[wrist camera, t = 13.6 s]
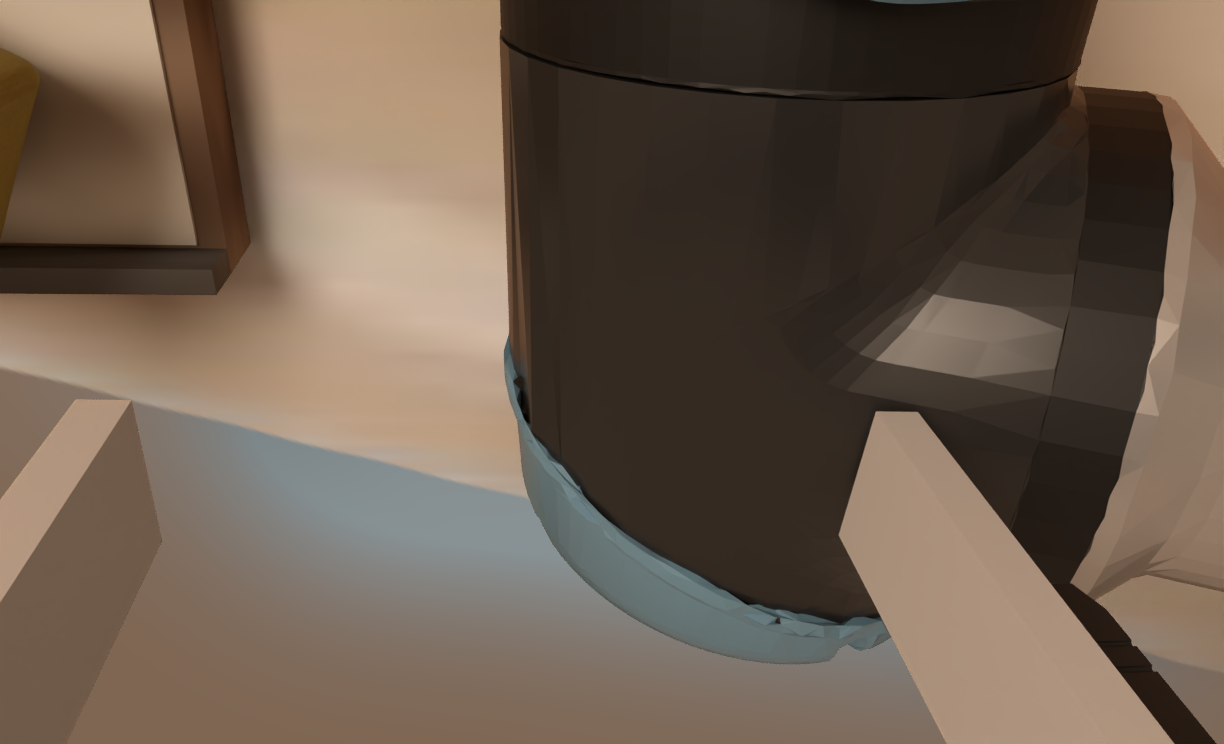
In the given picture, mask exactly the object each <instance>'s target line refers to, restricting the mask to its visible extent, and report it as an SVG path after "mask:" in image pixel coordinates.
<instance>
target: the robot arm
mask: <svg viewBox="0 0 1224 744" xmlns="http://www.w3.org/2000/svg"><path fill="white" fill-rule="evenodd" d="M1097 2H1098V0H500V12H501V28H502V29H501V30H500V62H501V92H502V122H503V152H504V182H505V213H506V243H507V273H508V303H509V336H508V339H507V343H506V346H505V349H504V370H505V381H506V385H507V390H508V395H509V399H510V402H511V405H512V408H513V411H514V414H515V416H516V419H517V421H518V432H519V442H520V452H521V463H522V472H523V477H524V482H525V486H526V490H527V493H528V496H529V498H530V501H531V504H532V506H533V508H534V511H535V513H536V514H537V516H538V517H539V518H540V520H541V523H542V525H543V527H544V529H545V530H546V532H547V534H548V536H549V538H550V540H551V542H552V544H553V545H554V547H555V548H556V549H557V551H558V552H559V553H560V555H561V556H562V557H563V558H564V560H565V561H566V562H567V563H568V564H569V565H570V567H571V568H572V569H573V570H574V571H575V572H576V573H577V574H578V575H579V576H580V577H581V578H582V579H583V580H584V581H585V582H586V583H587V584H588V585H589V586H591V587H592V588H593V589H594V590H595V591H596V592H598V593H599V594H600V595H601V596H603V597H604V598H605V599H606V600H608V601H609V602H610V603H612V604H613V605H615V606H616V607H617V608H619V609H620V610H622V611H623V612H625V613H626V614H628V615H629V616H631V617H633V618H634V619H636V620H638V621H639V622H641V623H643V624H645V625H647V626H649V627H650V628H653V629H654V630H656V631H658V632H660V633H663V634H665V635H667V636H669V637H671V638H673V639H676V640H678V641H681V642H683V643H686V644H688V645H691V646H694V647H697V648H700V649H703V650H706V651H709V652H712V653H717V654H720V655H724V656H728V657H733V658H737V659H742V660H748V661H756V662H763V663H774V664H809V663H819V662H825V661H830V660H831V659H832V658H833V657H834V656H835V654H836V653H837V651H838V650H839V648H841V647H843V646H845V645H847V644H848V645H850V646H851V647H853V648H855V649H857V650H860V651H861V650H864V649H870V648H873V647H874V646H877V645H879V644H880V643H882V642H884V641H886V640H887V639H889V638H890V637H892V639H893V641H894V643H895V645H896V647H897V649H898V651H899V653H900V655H901V656H902V658H903V660H904V662H905V664H906V666H907V668H908V670H909V672H910V674H911V676H912V678H913V680H914V681H915V684H916V685H917V687H918V689H919V691H920V693H921V695H922V697H923V699H924V701H925V703H926V705H927V707H928V708H929V710H930V712H931V714H932V716H933V718H934V720H935V722H936V724H937V726H938V728H939V730H940V732H941V734H942V736H943V737H944V740H945V741H946V743H947V744H1216V743H1215V741H1214V740H1213V739H1212V738H1211V737H1210V735H1209V734H1208V733H1207V732H1206V730H1205V729H1204V728H1203V727H1202V726H1201V724H1200V723H1199V722H1198V721H1197V719H1196V718H1195V717H1194V716H1193V715H1192V713H1191V712H1190V711H1189V710H1188V708H1187V707H1186V706H1185V705H1184V704H1183V702H1182V701H1181V700H1180V699H1179V698H1178V696H1177V695H1176V694H1175V693H1174V691H1173V690H1172V689H1171V688H1170V686H1169V685H1168V684H1167V683H1166V682H1165V680H1164V679H1163V678H1162V677H1161V676H1160V674H1159V673H1158V672H1153V670H1152V665H1151V663H1150V662H1149V661H1148V660H1147V658H1146V657H1145V656H1144V655H1143V654H1142V652H1141V651H1140V650H1139V649H1138V647H1137V646H1132V644H1131V639H1130V638H1129V636H1128V635H1127V634H1126V633H1125V632H1124V630H1123V629H1122V628H1121V627H1120V626H1119V624H1118V623H1117V622H1116V621H1115V619H1114V618H1113V617H1112V616H1111V615H1110V613H1109V612H1108V611H1107V610H1106V609H1105V608H1104V607H1102V606H1101V605H1100V604H1098V603H1097V602H1096V601H1094V600H1095V599H1097V598H1099V597H1101V596H1102V595H1104V594H1106V593H1107V592H1109V591H1111V590H1113V589H1114V588H1116V587H1118V586H1119V585H1121V584H1123V583H1125V582H1126V581H1128V580H1130V579H1131V578H1135V577H1139V576H1143V575H1151V576H1156V577H1160V578H1164V579H1169V580H1173V581H1178V582H1182V583H1187V584H1191V585H1196V586H1200V587H1204V588H1209V589H1213V590H1218V591H1222V592H1224V168H1223V166H1222V165H1221V164H1220V162H1219V161H1218V159H1217V158H1216V157H1215V155H1214V154H1213V152H1212V151H1211V150H1210V148H1209V147H1208V145H1207V144H1206V142H1205V141H1204V140H1203V138H1202V137H1201V135H1200V134H1199V133H1198V131H1197V130H1196V128H1195V127H1194V126H1193V124H1192V123H1191V121H1190V120H1189V119H1188V117H1187V116H1186V114H1185V113H1184V111H1183V110H1182V109H1181V107H1180V106H1179V104H1178V103H1177V102H1176V101H1175V100H1174V99H1172V98H1171V97H1168V96H1163V95H1158V94H1153V93H1149V92H1147V91H1142V92H1139V91H1128V90H1116V89H1105V88H1094V87H1082V86H1076V85H1075V80H1076V75H1077V70H1078V67H1079V66H1080V64H1081V57H1082V54H1083V50H1084V47H1085V43H1086V40H1087V36H1088V33H1089V29H1090V26H1091V23H1092V19H1093V16H1094V12H1095V9H1096V5H1097ZM161 542H162V538H161V534H160V529H159V524H158V520H157V515H156V510H155V506H154V501H153V497H152V492H151V487H150V483H149V479H148V474H147V469H146V465H145V460H144V455H143V451H142V446H141V442H140V437H139V432H138V428H137V423H136V419H135V414H134V409H133V405H132V400H75V401H74V402H73V404H72V405H71V407H70V408H69V409H68V410H67V412H66V413H65V414H64V416H63V417H62V418H61V420H60V421H59V422H58V424H57V425H56V426H55V428H54V429H53V430H52V432H51V433H50V434H49V436H48V437H47V438H46V440H45V441H44V442H43V444H42V445H41V446H40V448H39V449H38V450H37V452H36V453H35V454H34V456H33V457H32V458H31V460H30V461H29V462H28V464H27V465H26V466H25V468H24V469H23V470H22V472H21V473H20V474H19V476H18V477H17V478H16V480H15V481H14V482H13V483H12V485H11V486H10V488H9V489H8V490H7V491H6V493H5V494H4V495H3V497H2V498H1V499H0V744H66V743H67V741H68V739H69V737H70V735H71V733H72V731H73V728H74V726H75V724H76V722H77V719H78V718H79V716H80V714H81V712H82V710H83V707H84V705H85V703H86V701H87V699H88V697H89V695H90V693H91V690H92V688H93V686H94V684H95V682H96V680H97V678H98V676H99V674H100V671H101V669H102V667H103V665H104V663H105V660H106V659H107V657H108V654H109V652H110V650H111V648H112V646H113V644H114V642H115V640H116V637H117V635H118V633H119V631H120V629H121V627H122V625H123V623H124V621H125V619H126V616H127V614H128V612H129V610H130V608H131V606H132V604H133V602H134V599H135V597H136V595H137V593H138V591H139V589H140V587H141V585H142V583H143V580H144V578H145V576H146V574H147V572H148V570H149V568H150V566H151V563H152V561H153V559H154V557H155V555H156V553H157V551H158V548H159V547H160V544H161Z"/></svg>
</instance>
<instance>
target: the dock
mask: <svg viewBox="0 0 1224 744" xmlns="http://www.w3.org/2000/svg"><path fill="white" fill-rule="evenodd" d="M0 48H2V49H4V50H6V51H8V52H11V53H13V54H15V55H17V56H19V57H21V58H23V59H25V60H27V61H28V62H30V63H31V64H32V65H33V66H34V67H35V68H36V69H37V71H38V73H39V77H40V83H39V88H38V93H37V96H36V99H35V103H34V106H33V110H32V114H31V117H30V121H29V125H28V129H27V133H26V137H25V141H24V145H23V149H22V153H21V157H20V161H19V165H18V169H17V173H16V177H15V181H14V185H13V189H12V193H11V198H10V202H9V206H8V210H7V215H6V220H5V224H4V228H3V232H2V235H1V239H0V293H22V294H160V295H217V293H218V292H219V290H220V289H221V287H222V286H223V284H224V283H225V281H226V280H227V278H228V277H229V275H230V274H231V272H232V271H233V269H234V268H235V266H236V265H237V263H238V262H239V260H240V259H241V257H242V256H243V254H244V252H245V251H246V249H247V248H248V246H249V245H250V237H249V231H248V225H247V219H246V213H245V207H244V200H243V194H242V188H241V182H240V176H239V169H238V163H237V157H236V151H235V145H234V138H233V132H232V126H231V120H230V114H229V107H228V101H227V95H226V89H225V83H224V76H223V70H222V64H221V58H220V52H219V46H218V39H217V33H216V27H215V21H214V15H213V8H212V2H211V0H0Z"/></svg>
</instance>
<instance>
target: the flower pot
mask: <svg viewBox="0 0 1224 744" xmlns="http://www.w3.org/2000/svg"><path fill="white" fill-rule="evenodd" d="M39 83H40V77H39V73H38V71H37V69H36V68H35V67H34V66H33V65H32V64H31V63H30V62H28V61H27V60H25V59H23V58H21V57H19V56H17V55H15V54H13V53H11V52H8V51H6V50H4V49H2V48H0V239H1V235H2V232H3V228H4V224H5V220H6V215H7V210H8V206H9V202H10V198H11V193H12V189H13V185H14V181H15V177H16V173H17V169H18V165H19V161H20V157H21V153H22V149H23V145H24V141H25V137H26V133H27V129H28V125H29V121H30V117H31V114H32V110H33V106H34V103H35V99H36V96H37V93H38V88H39Z"/></svg>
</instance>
